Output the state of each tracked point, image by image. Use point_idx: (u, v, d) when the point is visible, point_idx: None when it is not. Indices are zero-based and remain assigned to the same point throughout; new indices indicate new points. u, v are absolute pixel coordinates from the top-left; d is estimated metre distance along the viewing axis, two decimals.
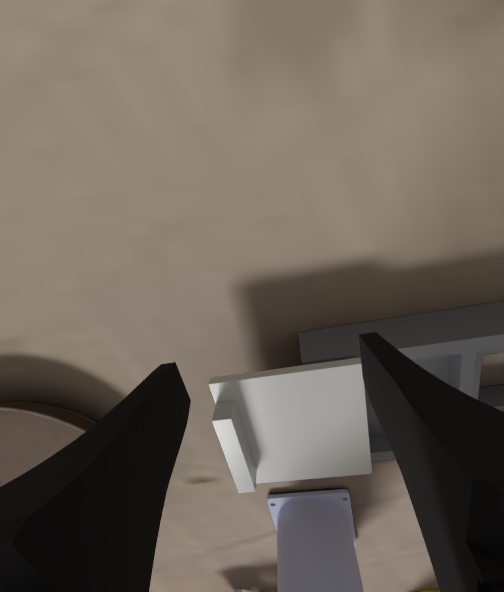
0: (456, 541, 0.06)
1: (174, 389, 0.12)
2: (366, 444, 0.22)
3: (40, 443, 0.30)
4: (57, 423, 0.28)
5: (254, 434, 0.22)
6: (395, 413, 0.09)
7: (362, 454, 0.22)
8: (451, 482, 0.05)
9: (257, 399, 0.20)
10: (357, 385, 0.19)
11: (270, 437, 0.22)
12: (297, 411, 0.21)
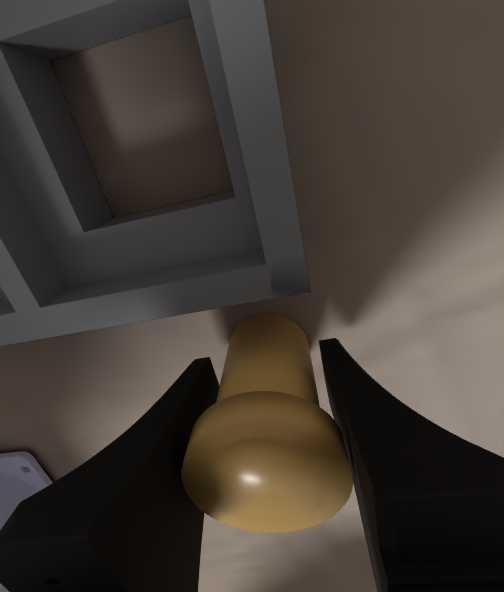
0: (376, 545, 0.06)
1: (210, 384, 0.12)
2: None
3: None
4: None
5: None
6: (343, 419, 0.09)
7: None
8: (367, 489, 0.06)
9: None
10: None
11: None
12: None
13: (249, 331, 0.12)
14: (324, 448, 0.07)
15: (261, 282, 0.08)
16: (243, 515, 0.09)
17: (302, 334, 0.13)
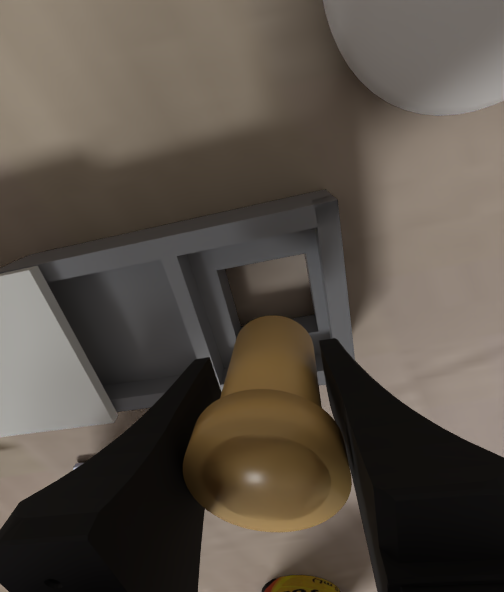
0: (376, 545, 0.06)
1: (210, 384, 0.12)
2: (88, 383, 0.18)
3: None
4: None
5: None
6: (343, 419, 0.09)
7: (90, 396, 0.18)
8: (367, 489, 0.06)
9: None
10: (38, 301, 0.16)
11: None
12: None
13: (254, 332, 0.12)
14: (322, 447, 0.08)
15: None
16: (242, 512, 0.09)
17: (307, 336, 0.13)
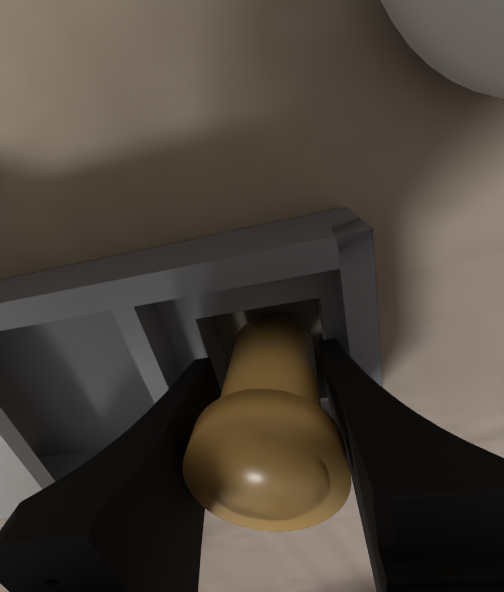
0: (375, 545, 0.06)
1: (210, 384, 0.12)
2: (22, 469, 0.13)
3: None
4: None
5: None
6: (342, 419, 0.09)
7: (26, 485, 0.13)
8: (367, 489, 0.06)
9: None
10: None
11: None
12: None
13: (254, 331, 0.12)
14: (322, 446, 0.08)
15: None
16: (242, 511, 0.09)
17: (307, 336, 0.13)
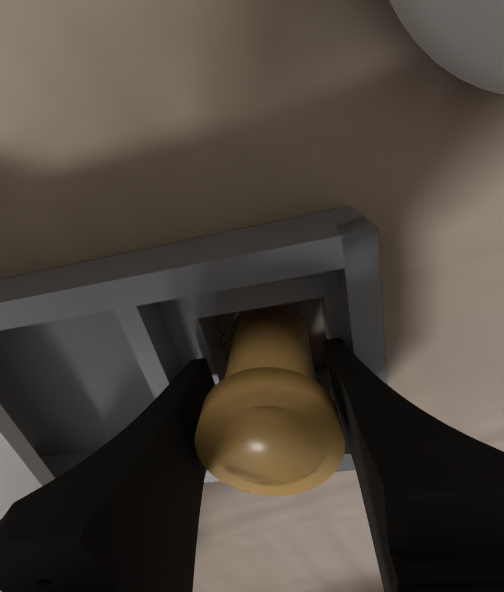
0: (385, 545, 0.06)
1: (206, 385, 0.12)
2: (24, 469, 0.13)
3: None
4: None
5: None
6: (348, 418, 0.09)
7: (28, 484, 0.13)
8: (376, 488, 0.06)
9: None
10: None
11: None
12: None
13: (253, 319, 0.13)
14: (319, 415, 0.09)
15: None
16: (248, 478, 0.10)
17: (301, 322, 0.14)
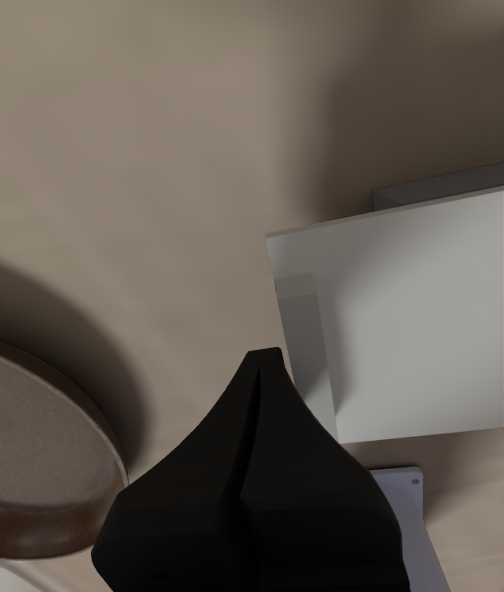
0: None
1: None
2: None
3: None
4: None
5: (339, 349, 0.12)
6: None
7: None
8: None
9: (356, 271, 0.11)
10: None
11: (367, 354, 0.12)
12: (429, 297, 0.11)
13: None
14: None
15: None
16: None
17: None
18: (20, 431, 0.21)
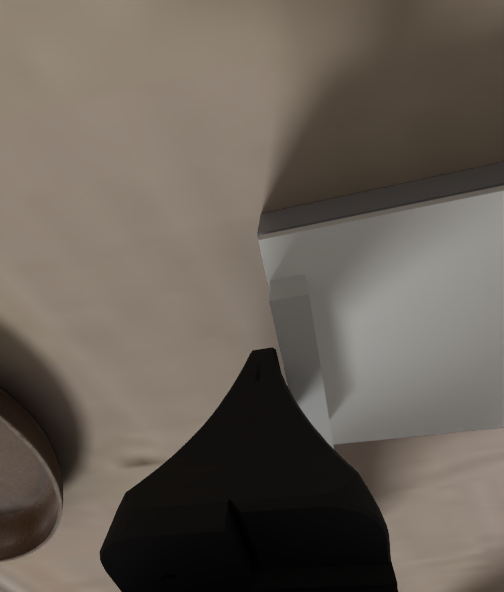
0: None
1: None
2: None
3: None
4: None
5: (333, 350, 0.12)
6: None
7: None
8: None
9: (349, 272, 0.11)
10: None
11: (361, 355, 0.12)
12: (422, 298, 0.11)
13: None
14: None
15: None
16: None
17: None
18: None
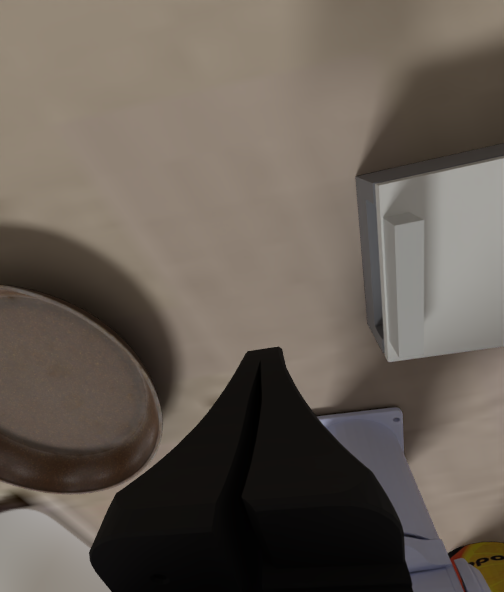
0: None
1: None
2: None
3: (32, 352, 0.25)
4: (51, 322, 0.24)
5: (423, 275, 0.16)
6: None
7: None
8: None
9: (443, 210, 0.15)
10: None
11: (444, 279, 0.16)
12: (496, 230, 0.15)
13: None
14: None
15: None
16: None
17: None
18: (70, 380, 0.26)
